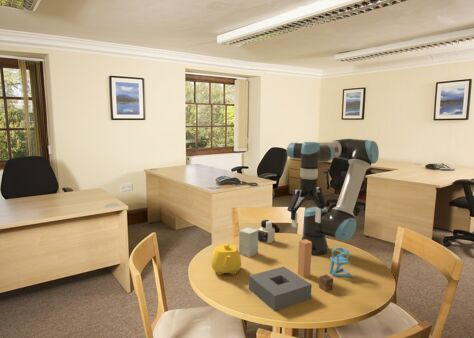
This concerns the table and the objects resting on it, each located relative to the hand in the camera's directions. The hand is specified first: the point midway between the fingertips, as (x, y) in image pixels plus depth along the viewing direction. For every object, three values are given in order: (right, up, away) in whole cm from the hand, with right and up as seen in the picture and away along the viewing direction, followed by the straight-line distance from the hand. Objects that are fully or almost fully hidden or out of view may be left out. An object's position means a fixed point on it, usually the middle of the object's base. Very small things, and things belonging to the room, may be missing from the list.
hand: (306, 224), depth 153 cm
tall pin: (0, -24, +4) cm, 24 cm away
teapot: (-36, -23, +6) cm, 43 cm away
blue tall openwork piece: (+16, -24, +6) cm, 29 cm away
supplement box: (-25, -20, +27) cm, 41 cm away
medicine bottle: (-14, -17, +44) cm, 49 cm away
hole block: (-14, -26, -13) cm, 32 cm away
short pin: (+7, -26, -8) cm, 28 cm away
